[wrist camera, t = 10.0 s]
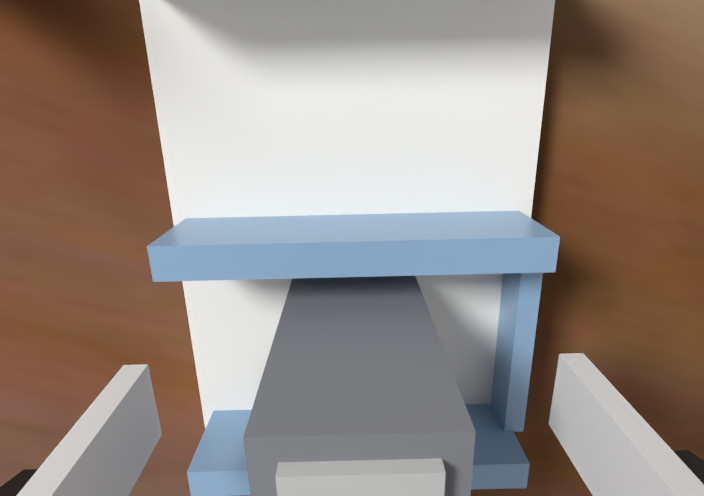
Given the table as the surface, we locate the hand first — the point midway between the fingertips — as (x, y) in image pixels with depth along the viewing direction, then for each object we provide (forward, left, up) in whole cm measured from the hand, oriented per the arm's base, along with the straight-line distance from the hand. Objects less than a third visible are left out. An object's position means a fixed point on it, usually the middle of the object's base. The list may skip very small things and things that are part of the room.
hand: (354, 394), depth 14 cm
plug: (0, 0, -5) cm, 5 cm away
